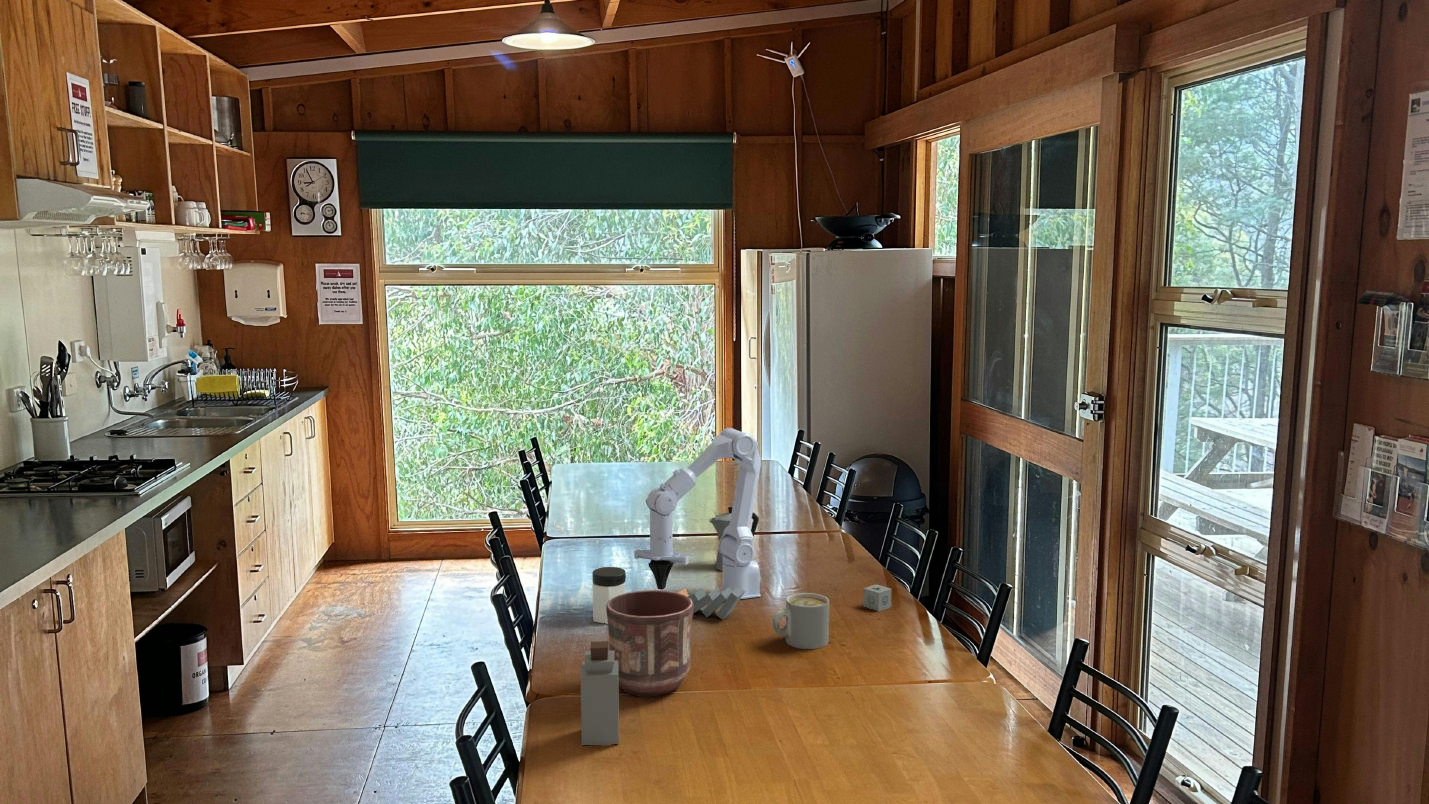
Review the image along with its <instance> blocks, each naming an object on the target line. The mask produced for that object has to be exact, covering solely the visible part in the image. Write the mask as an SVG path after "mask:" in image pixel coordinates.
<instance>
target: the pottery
mask: <svg viewBox="0 0 1429 804" xmlns="http://www.w3.org/2000/svg"><path fill="white" fill-rule="evenodd" d="M675 592H676V591H668V590H660V589H657V590H656V589H654V590H650V589H647V590H637V591H636V590H635V591H631V592H630V591H629V592H625V594H622V595H619V596H616V597H614V598H612V599H610V600H609V601H608V603H607V604H606V612H607V620H608V624H607V629H608V641H609V642H608V651H613V650H615V653H614V661H616V660H618V676H619V688H621V689H622V690H623V691H624V692H625V693H627V694H630V695H632V696H636V695H638V696H637V697H644V696H653V697H659V696H658V695H660V696H664V695H667V694H670V693H671V692H673V691H675V690H677V688H678V687H679V686H681V685H682V683H683V682H684V681H685V679H686V677H687V675H688V674H689V671H690V669H691V662H692V661H691V659H692V657H691V656H692V655H691V638H692V621H693V616H694V614H693V608H694V604H693V601H692V600H691V599H690V598H688V597H686V596H685V595H682V594H678V593H675Z"/></svg>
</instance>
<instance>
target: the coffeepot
mask: <svg viewBox="0 0 1429 804" xmlns="http://www.w3.org/2000/svg"><path fill="white" fill-rule="evenodd" d="M727 508H728V510H727V511H728V512H724V513H719V514H716V515H715V516H714V517H711V518H710V519H709V520H708V522H709V523H710V524H711V525H712V526H713V528H714V529H715V531H716V534H717V538H718V539H717V540H718V542H719V541H720V539H721V538H722V536H723V533H724V529H725V528H726V527H727V526H728V525H729V524H730V519H731V513H732V508H733V506H728V507H727ZM751 520H752V521H751V527H750V530H751V532H752V535H753V538H755V537H754V536H755V533H756V531H757V527H758V524H759V521H760V517H759V516H758V515H757V514H756V513H755V512H753V513H752V519H751ZM717 569H718V570H717ZM715 570H717V571H719V570H720V571H719V572H722V571H723V555H722V554H721V553H720V552H719V549H718V548H717V554H716V560H715Z"/></svg>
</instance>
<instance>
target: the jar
mask: <svg viewBox="0 0 1429 804" xmlns="http://www.w3.org/2000/svg"><path fill="white" fill-rule="evenodd" d="M626 578H627V575H626V570H625V569H624V568H621V567H619V566H603V567H598V568H595V569H593V571H592V621H593V622H595V623H599V624H604V623H605V624H604V625H608V620H607V612H606V604H607V603H608V601H609V600H610V599H612V598H614V597H616V596H619V595H622V594H625V593H626Z"/></svg>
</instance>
